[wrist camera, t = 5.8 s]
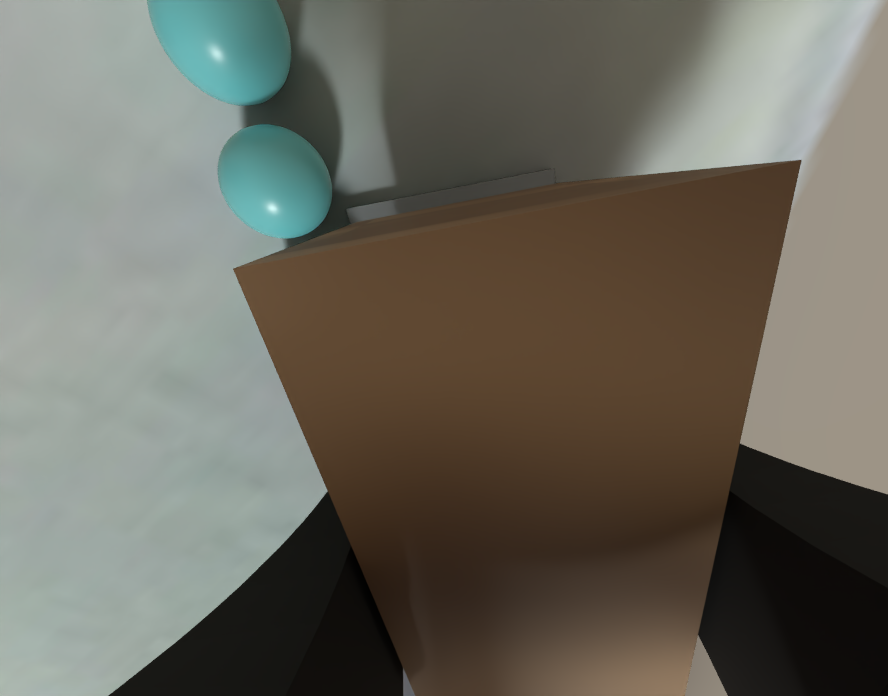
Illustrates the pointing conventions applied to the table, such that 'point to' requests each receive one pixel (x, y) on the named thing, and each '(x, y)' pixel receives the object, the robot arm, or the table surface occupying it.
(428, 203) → the felt mat
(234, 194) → the marble
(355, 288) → the wooden block
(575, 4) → the table surface
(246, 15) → the teal egg
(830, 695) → the robot arm
